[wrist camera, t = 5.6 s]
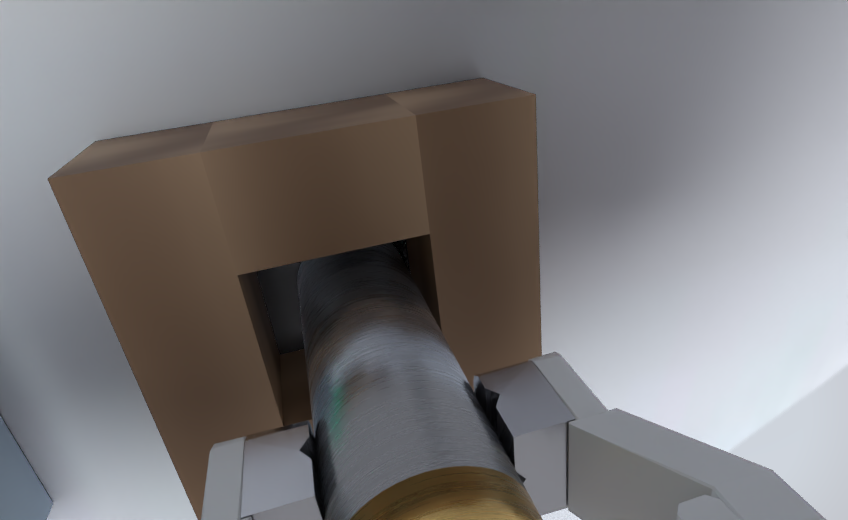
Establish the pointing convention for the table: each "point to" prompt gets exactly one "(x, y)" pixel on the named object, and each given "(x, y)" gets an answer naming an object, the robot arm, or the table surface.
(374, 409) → the lock pin
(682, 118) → the table surface
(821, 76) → the table surface
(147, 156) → the pin mount
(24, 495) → the dock
